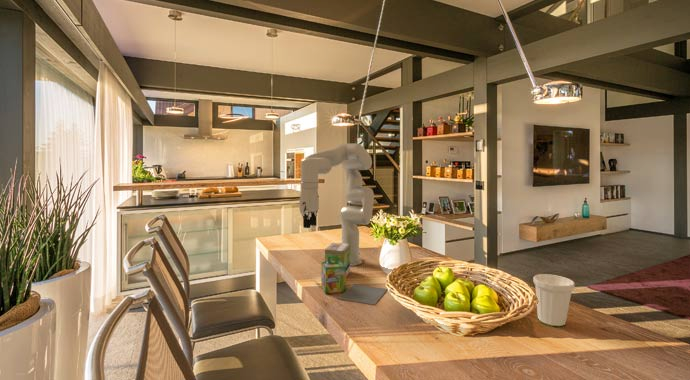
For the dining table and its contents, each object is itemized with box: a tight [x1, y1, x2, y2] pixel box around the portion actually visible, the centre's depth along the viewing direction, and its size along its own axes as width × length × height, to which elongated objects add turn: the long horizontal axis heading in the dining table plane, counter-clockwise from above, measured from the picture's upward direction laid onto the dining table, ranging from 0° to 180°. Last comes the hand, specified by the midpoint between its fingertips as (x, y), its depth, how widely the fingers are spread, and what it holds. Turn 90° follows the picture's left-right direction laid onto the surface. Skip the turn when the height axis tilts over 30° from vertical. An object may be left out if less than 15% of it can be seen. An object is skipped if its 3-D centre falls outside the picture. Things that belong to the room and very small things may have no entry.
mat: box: [337, 283, 388, 306], centre depth 150 cm, size 18×16×1 cm
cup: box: [532, 273, 576, 327], centre depth 124 cm, size 12×12×15 cm
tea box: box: [324, 242, 351, 277], centre depth 173 cm, size 15×10×15 cm
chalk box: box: [321, 256, 347, 295], centre depth 155 cm, size 9×9×15 cm
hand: (310, 226), depth 157 cm, fingers open, 5 cm apart
